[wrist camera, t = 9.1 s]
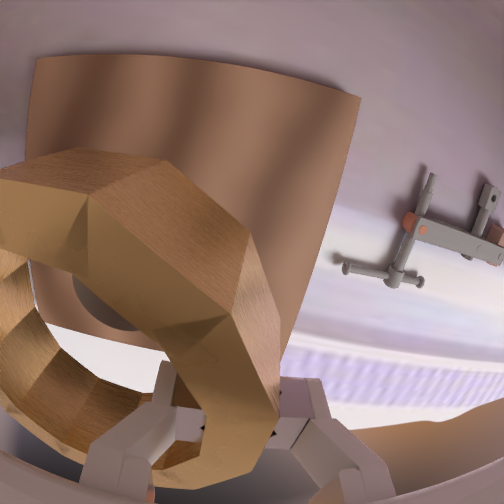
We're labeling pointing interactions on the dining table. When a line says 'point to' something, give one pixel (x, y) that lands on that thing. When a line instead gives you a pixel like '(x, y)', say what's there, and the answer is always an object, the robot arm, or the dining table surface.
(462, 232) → the clamp
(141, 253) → the wooden ring
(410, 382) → the dining table surface
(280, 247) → the piston stand
